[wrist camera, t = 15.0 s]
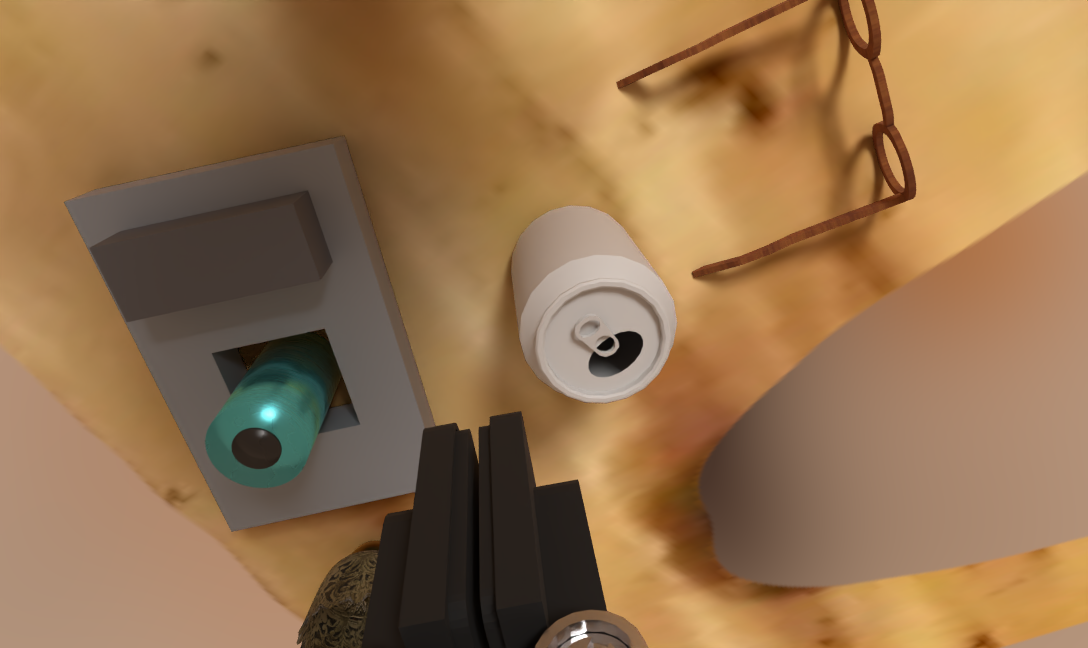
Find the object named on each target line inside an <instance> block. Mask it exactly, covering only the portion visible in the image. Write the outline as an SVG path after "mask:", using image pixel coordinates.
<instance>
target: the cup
mask: <svg viewBox="0 0 1088 648" xmlns="http://www.w3.org/2000/svg"><path fill="white" fill-rule="evenodd" d="M379 545H380V541H369V542H366V543H364V544H362V545H360V546H359V547H358V548H357V549H356V550H355V551H354V552H353V553H352V554H351V555H349V556H347V557H345V558H344V559H342V560H341V561H339V562H338V563H337V564H336V565H335V566H334V567H333V568H332V569H331V570H330V572H329V573H328V574H327V576H326V577H325V579H324V581H323V582H322V584H321V586H320V588H319V590H318V592H317V594H316V596H315V598H314V601H313V603H312V605H311V607H310V609H309V612H308V614H307V616H306V619H305V621H304V623H303V625H302V627H301V628H300V630H299V637H298V641H297V644H299V643H301V641H302V645H301V648H361V646H362V640H363V635H364V629H365V624H366V618H367V613H368V607H369V601H370V596H371V590H372V585H373V579H374V573H375V568H376V562H377V557H378V551H379Z"/></svg>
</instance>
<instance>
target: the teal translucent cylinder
mask: <svg viewBox="0 0 1088 648" xmlns="http://www.w3.org/2000/svg"><path fill="white" fill-rule="evenodd" d="M341 376H342V374H341V371H340V368H339V366H338V363H337V360H336V357H335V355H334V352H333V349H332V347H331V344H330V342H328V341H327V340H326V339H325V338H323V337H321V336H319V335H317V334H315V333H312V332H307V333H302V334H298V335H293V336H288V337H284V338H279V339H274V340H270V341H269V342H268V343H267V344H266V346H265V347H264V348H263V350H262V351H261V353H260V354H259V356H258V357H257V358H256V360H255V361H254V363H253V364H252V366H251V367H250V368H249V370H248V371H247V373H246V374H245V376H244V377H243V378H242V380H241V381H240V383H239V384H238V386H237V387H236V388H235V390H234V391H233V393H232V394H231V396H230V397H229V398H228V400H227V401H226V403H225V404H224V406H223V407H222V408H221V410H220V411H219V413H218V414H217V416H216V417H215V418H214V420H213V421H212V423H211V424H210V426H209V428H208V430H207V433H206V437H205V447H206V451H207V454H208V457H209V459H210V461H211V462H212V464H213V465H214V466H215V468H216V469H217V470H218V471H219V472H220V473H221V474H223V475H224V476H225V477H227V478H228V479H230V480H232V481H234V482H236V483H239V484H241V485H244V486H248V487H254V488H270V487H276V486H280V485H282V484H285V483H287V482H289V481H291V480H292V479H294V478H295V477H296V476H297V475H298V474H299V473H300V472H301V471H302V469H303V468H304V466H305V464H306V462H307V460H308V457H309V455H310V452H311V450H312V447H313V445H314V443H315V440H316V438H317V435H318V433H319V430H320V428H321V425H322V423H323V421H324V418H325V416H326V413H327V411H328V408H329V406H330V404H331V401H332V399H333V396H334V394H335V391H336V389H337V387H338V384H339V382H340V379H341Z"/></svg>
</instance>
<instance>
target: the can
mask: <svg viewBox="0 0 1088 648" xmlns="http://www.w3.org/2000/svg"><path fill="white" fill-rule="evenodd" d="M511 276H512V284H513V292H514V299H515V307H516V315H517V323H518V331H519V339H520V342H521V346H522V350H523V353H524V357H525V360H526V362H527V363H528V365H529V366H530V367H531V369H532V370H533V372H534V373H535V375H536V376H537V377H538V379H540V380H541V381H542V382H544V383H545V384H547V385H548V386H549V387H551V388H552V389H554V390H555V391H556V392H559V393H562V394H564V395H565V396H567V397H570V398H573V399H576V400H579V401H582V402H585V403H610V402H614V401H618V400H622V399H626V398H628V397H630V396H632V395H633V394H635V393H637V392H639V391H640V390H642V389H644V388H645V387H646V386H647V385H648V384H649V383H650V382H651V381H652V380H653V379H654V378H655V377H656V376H657V375H658V374H659V373H660V371H661V369H662V367H663V366H664V364H665V362H666V360H667V358H668V356H669V352H670V350H671V348H672V346H673V342H674V337H675V331H676V326H677V319H676V313H675V307H674V301H673V299H672V297H671V295H670V293H669V292H668V290H667V288H666V286H665V285H664V283H663V281H662V280H661V278H660V277H659V275H658V274H657V273H656V271H655V270H654V269H653V267H652V266H651V265H650V263H649V262H648V261H647V259H646V258H645V257H644V255H643V254H642V253H641V251H640V250H639V249H638V247H637V246H636V245H635V243H634V242H633V240H632V239H631V238H630V236H629V235H628V234H627V232H626V231H625V230H624V228H623V227H622V226H621V225H620V224H619V223H618V222H616V221H615V220H614V219H613V218H612V217H611V216H609V215H608V214H606V213H604V212H602V211H599V210H597V209H594V208H592V207H587V206H571V205H569V206H565V207H561V208H557V209H553V210H550V211H548V212H547V213H545V214H543V215H542V216H540V217H538V218H537V219H535V220H534V221H532V223H531V224H530V225H529V226H528V227H527V228H526V229H525V231H524V232H523V233H522V234H521V235H520V237H519V239H518V242H517V244H516V247H515V249H514V251H513V254H512V267H511Z"/></svg>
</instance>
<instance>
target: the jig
mask: <svg viewBox="0 0 1088 648" xmlns="http://www.w3.org/2000/svg"><path fill="white" fill-rule="evenodd" d="M64 203H65V205H66V207H67V209H68V211H69V213H70V215H71V217H72V219H73V221H74V223H75V225H76V227H77V229H78V231H79V232H80V234H81V236H82V238H83V240H84V242H85V244H86V246H87V248H88V250H89V252H90V254H91V256H92V258H93V260H94V262H95V264H96V266H97V268H98V270H99V272H100V274H101V276H102V278H103V280H104V282H105V284H106V286H107V288H108V290H109V292H110V293H111V295H112V297H113V299H114V301H115V303H116V305H117V307H118V309H119V311H120V313H121V315H122V317H123V319H124V321H125V323H126V325H127V327H128V329H129V331H130V333H131V335H132V337H133V339H134V341H135V343H136V345H137V347H138V349H139V351H140V353H141V354H142V356H143V358H144V360H145V362H146V364H147V366H148V368H149V370H150V372H151V374H152V376H153V378H154V380H155V382H156V384H157V386H158V388H159V390H160V392H161V394H162V396H163V398H164V400H165V402H166V404H167V406H168V408H169V410H170V412H171V414H172V415H173V417H174V419H175V421H176V423H177V425H178V427H179V429H180V431H181V433H182V435H183V437H184V439H185V441H186V443H187V445H188V447H189V449H190V451H191V453H192V455H193V457H194V459H195V461H196V463H197V465H198V467H199V469H200V471H201V473H202V474H203V476H204V478H205V480H206V482H207V484H208V486H209V488H210V490H211V492H212V494H213V496H214V498H215V500H216V502H217V504H218V506H219V508H220V510H221V512H222V514H223V516H224V518H225V520H226V522H227V524H228V526H229V528H230V530H231V532H233V531H237V530H242V529H247V528H251V527H256V526H260V525H265V524H270V523H274V522H279V521H283V520H288V519H293V518H297V517H302V516H306V515H311V514H316V513H320V512H325V511H329V510H334V509H339V508H343V507H348V506H352V505H357V504H362V503H366V502H371V501H375V500H380V499H385V498H389V497H394V496H398V495H403V494H408V493H412V492H415V490H416V482H417V474H418V466H419V458H420V450H421V442H422V434H423V429H425V428H429V427H435V423H434V419H433V416H432V413H431V410H430V407H429V404H428V400H427V397H426V394H425V391H424V388H423V384H422V381H421V378H420V375H419V372H418V369H417V365H416V362H415V359H414V356H413V353H412V349H411V346H410V343H409V340H408V337H407V334H406V330H405V327H404V324H403V321H402V318H401V314H400V311H399V308H398V305H397V302H396V299H395V295H394V292H393V289H392V286H391V283H390V280H389V276H388V273H387V270H386V267H385V264H384V260H383V257H382V254H381V251H380V248H379V245H378V241H377V238H376V235H375V232H374V229H373V225H372V222H371V219H370V216H369V213H368V210H367V206H366V203H365V200H364V197H363V194H362V190H361V187H360V184H359V181H358V178H357V175H356V171H355V168H354V165H353V162H352V159H351V155H350V152H349V149H348V146H347V143H346V140H345V136H340V137H336V138H331V139H326V140H322V141H317V142H313V143H308V144H303V145H299V146H294V147H290V148H285V149H280V150H276V151H271V152H266V153H262V154H257V155H253V156H248V157H243V158H239V159H234V160H229V161H225V162H220V163H216V164H211V165H206V166H202V167H197V168H192V169H188V170H183V171H179V172H174V173H169V174H165V175H160V176H155V177H151V178H146V179H142V180H137V181H132V182H128V183H123V184H119V185H114V186H109V187H105V188H100V189H95V190H93V191H90V192H88V193H85V194H83V195H80V196H78V197H75V198H73V199H70V200H68V201H65V202H64ZM321 329H325V330H326V333H327V336H328V339H329V341H330V344H331V347H332V349H333V352H334V355H335V357H336V360H337V363H338V366H339V368H340V371H341V374H342V376H343V379H344V382H345V384H346V387H347V390H348V393H349V395H350V398H351V401H352V403H351V404H347V405H342V406H338V407H333V408H328V411H327V413H326V416H325V418H324V421H323V423H322V425H321V428H320V430H319V433H318V435H317V438H316V440H315V443H314V445H313V447H312V450H311V452H310V455H309V457H308V460H307V462H306V464H305V466H304V468H303V469H302V471H301V472H300V473H299V474H298V475H297V476H296V477H295V478H294V479H292V480H291V481H289V482H287V483H285V484H282V485H280V486H276V487H270V488H254V487H248V486H244V485H241V484H239V483H236V482H234V481H232V480H230V479H228V478H227V477H225V476H224V475H223V474H221V473H220V472H219V471H218V470H217V469H216V468H215V466H214V465H213V464H212V462H211V461H210V459H209V457H208V454H207V451H206V447H205V437H206V433H207V430H208V428H209V426H210V424H211V423H212V421H213V420H214V418H215V417H216V416H217V414H218V413H219V411H220V410H221V408H222V407H223V406H224V404H225V403H226V401H227V400H228V398H229V397H230V396H231V394H232V393H233V391H234V390H235V388H236V387H237V386H238V384H239V383H240V381H241V380H242V378H243V377H244V376H245V374H246V373H247V370H246V367H245V365H244V363H243V361H242V358H241V356H240V354H239V351H238V349H237V348H238V347H242V346H247V345H251V344H256V343H261V342H265V341H270V340H274V339H279V338H284V337H288V336H293V335H298V334H302V333H307V332H311V331H316V330H321Z"/></svg>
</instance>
